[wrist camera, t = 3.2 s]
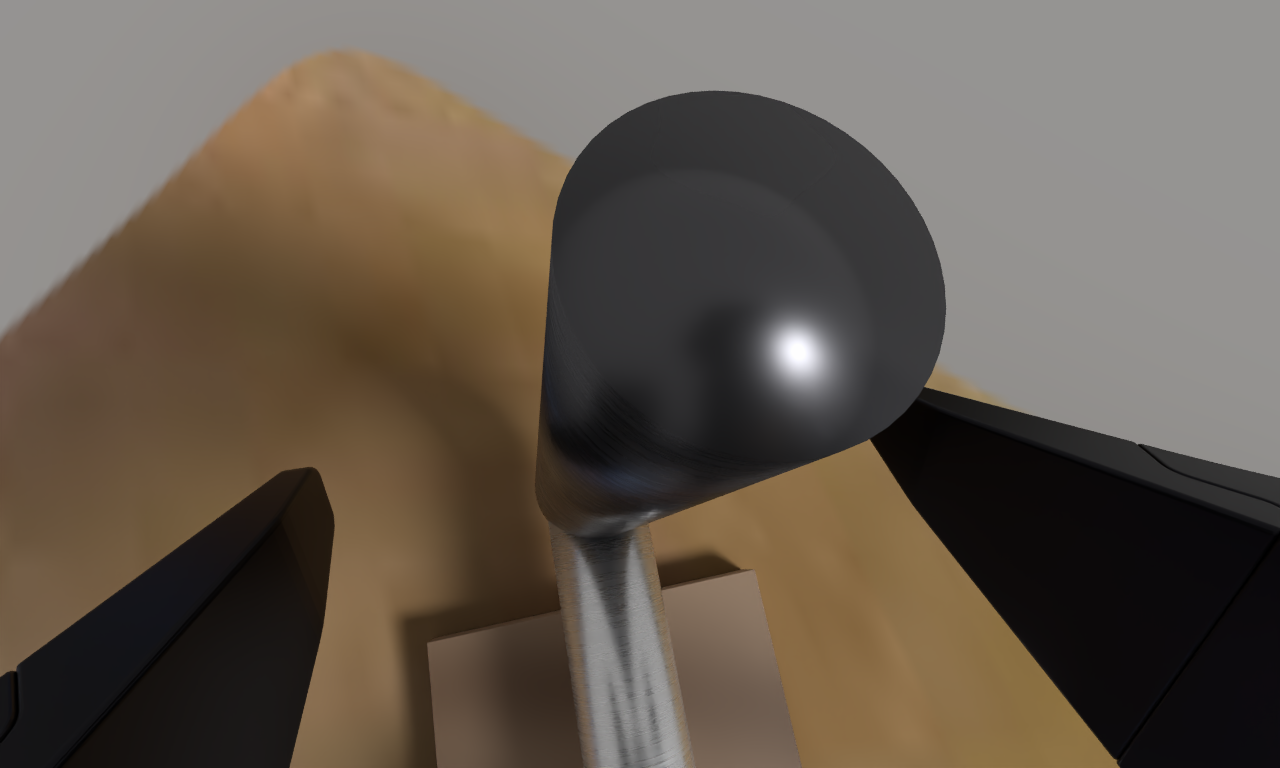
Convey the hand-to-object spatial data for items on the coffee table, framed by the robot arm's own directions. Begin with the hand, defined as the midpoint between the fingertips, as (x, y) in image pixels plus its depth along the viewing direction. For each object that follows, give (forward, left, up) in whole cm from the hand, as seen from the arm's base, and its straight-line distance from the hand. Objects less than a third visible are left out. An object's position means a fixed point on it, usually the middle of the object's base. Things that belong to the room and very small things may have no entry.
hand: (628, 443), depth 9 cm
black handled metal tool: (-7, +1, -7) cm, 9 cm away
